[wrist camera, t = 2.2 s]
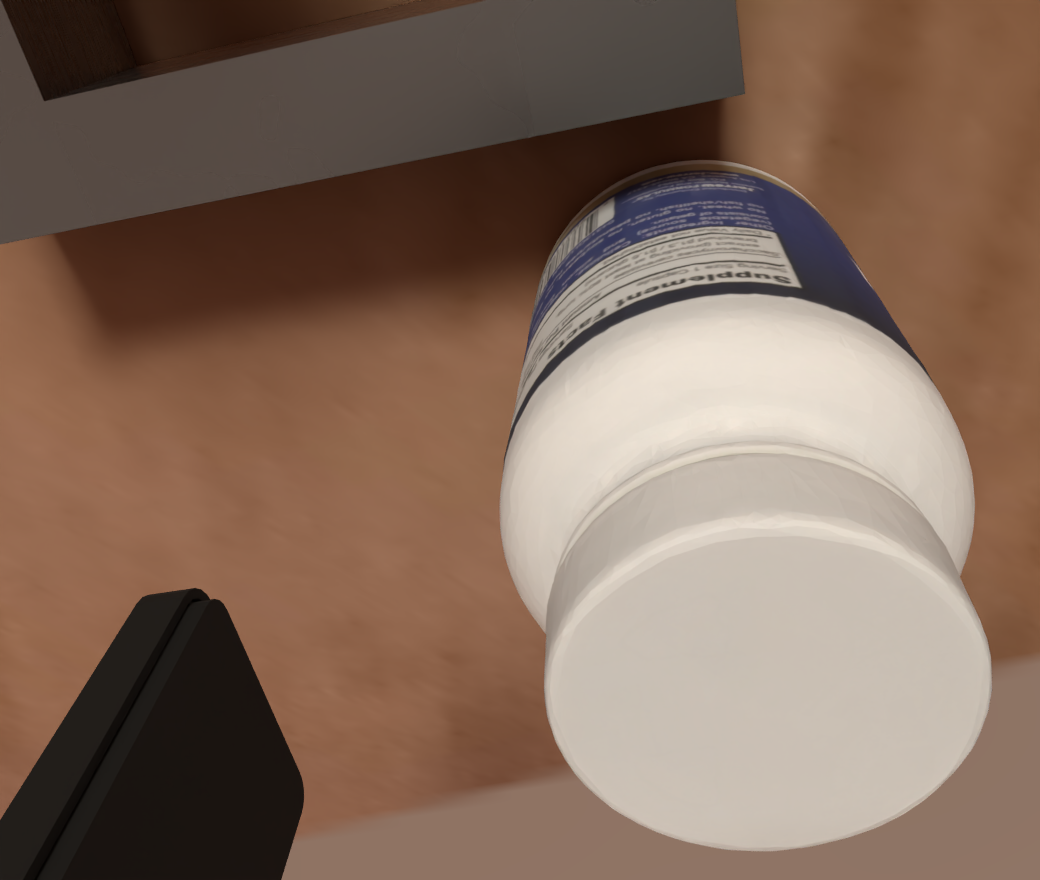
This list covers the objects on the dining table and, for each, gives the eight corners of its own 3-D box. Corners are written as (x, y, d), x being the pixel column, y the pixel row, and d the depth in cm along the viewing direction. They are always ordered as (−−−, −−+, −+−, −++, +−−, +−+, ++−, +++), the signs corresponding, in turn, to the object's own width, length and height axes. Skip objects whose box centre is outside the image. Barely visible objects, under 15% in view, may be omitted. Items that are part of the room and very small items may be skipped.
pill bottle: (869, 404, 18) (1096, 871, 9) (583, 466, 19) (558, 932, 11) (822, 108, 15) (1071, 381, 7) (499, 201, 17) (378, 530, 8)
